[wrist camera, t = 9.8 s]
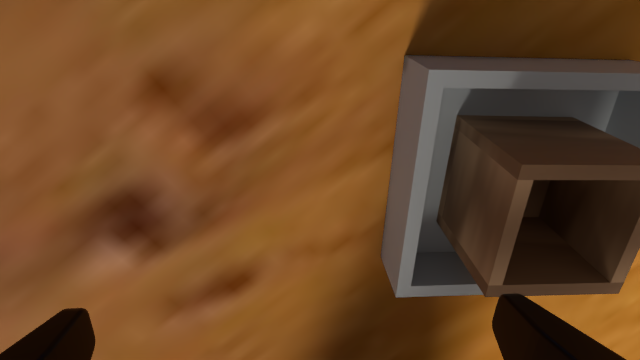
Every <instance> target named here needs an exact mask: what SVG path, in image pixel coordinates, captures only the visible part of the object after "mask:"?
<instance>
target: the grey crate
mask: <svg viewBox="0 0 640 360" xmlns="http://www.w3.org/2000/svg"><path fill="white" fill-rule="evenodd" d="M457 115H481V116H536V117H574V118H576V119H578V120H580V121H582V122H584V123H586V124H589V125H591V126H593V127H595V128H597V129H599V130H602V131H604V132H606V133H608V134H610V135H612V136H614V137H617V138H619V139H621V140H623V141H625V142H627V143H629V144H632V145H634V146H636V147H638V148H640V62H638V61H633V60H601V59H556V58H511V57H466V56H421V55H405V58H404V66H403V74H402V83H401V91H400V99H399V108H398V116H397V124H396V133H395V141H394V149H393V158H392V166H391V175H390V183H389V191H388V200H387V208H386V216H385V225H384V233H383V241H382V250H381V258H382V261H383V264H384V267H385V269H386V272H387V275H388V278H389V280H390V283H391V286H392V289H393V291H394V294H395V297H426V296H456V295H484V294H483V293H482V291H481V290H480V288H479V287H478V285H477V284H476V282H475V280H474V279H473V277H472V276H471V274H470V273H469V271H468V270H467V268H466V267H465V265H464V263H463V262H462V260H461V259H460V257H459V256H458V254H457V253H456V251H455V250H454V248H453V246H452V245H451V243H450V242H449V240H448V239H447V237H446V236H445V234H444V233H443V231H442V229H441V228H440V226H439V225H438V223H437V222H436V220H437V215H438V210H439V205H440V199H441V194H442V189H443V184H444V179H445V174H446V168H447V163H448V158H449V153H450V148H451V143H452V137H453V132H454V127H455V122H456V117H457Z"/></svg>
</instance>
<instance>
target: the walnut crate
mask: <svg viewBox="0 0 640 360" xmlns="http://www.w3.org/2000/svg"><path fill="white" fill-rule="evenodd" d="M436 222H437V223H438V225H439V226H440V228H441V229H442V231H443V233H444V234H445V236H446V237H447V239H448V240H449V242H450V243H451V245H452V246H453V248H454V250H455V251H456V253H457V254H458V256H459V257H460V259H461V260H462V262H463V263H464V265H465V267H466V268H467V270H468V271H469V273H470V274H471V276H472V277H473V279H474V280H475V282H476V284H477V285H478V287H479V288H480V290H481V291H482V293H483V294H484V296H485V297H500V296H501V295H502V294H511V293H518V294H521V295H523V296H541V295H579V294H617V293H619V292H620V289H621V287H622V285H623V283H624V281H625V278H626V276H627V274H628V272H629V270H630V268H631V265H632V263H633V261H634V259H635V257H636V254H637V252H638V250H639V248H640V148H638V147H636V146H634V145H632V144H629V143H627V142H625V141H623V140H621V139H619V138H617V137H614V136H612V135H610V134H608V133H606V132H604V131H602V130H599V129H597V128H595V127H593V126H591V125H589V124H586V123H584V122H582V121H580V120H578V119H576V118H574V117H536V116H481V115H457V117H456V122H455V127H454V132H453V137H452V143H451V148H450V153H449V158H448V163H447V168H446V174H445V179H444V184H443V189H442V194H441V199H440V205H439V210H438V215H437V220H436Z"/></svg>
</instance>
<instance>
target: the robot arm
mask: <svg viewBox="0 0 640 360" xmlns="http://www.w3.org/2000/svg"><path fill="white" fill-rule="evenodd" d="M492 328H493V332H494V335H495V337H496V340H497V343H498V345H499V348H500V351H501V353H502V356H503V359H504V360H626V359H624V358H623V357H621V356H620V355H618V354H616V353H615V352H613V351H612V350H610V349H608V348H607V347H605V346H604V345H602V344H600V343H599V342H597V341H595V340H594V339H592V338H591V337H589V336H587V335H586V334H584V333H583V332H581V331H579V330H578V329H576V328H575V327H573V326H571V325H570V324H568V323H567V322H565V321H563V320H562V319H560V318H558V317H557V316H555V315H554V314H552V313H550V312H549V311H547V310H546V309H544V308H542V307H541V306H539V305H538V304H536V303H534V302H533V301H531V300H530V299H528V298H526V297H525V296H523V295H521V294H518V293H511V294H502V295H501V296H500V297H499V299H498V303H497V306H496V310H495V313H494V317H493V321H492ZM94 347H95V335H94V331H93V328H92V324H91V320H90V317H89V314H88V311H87V310H86V309H84V308H71V309H64V310H62V311H60V312H59V313H57V314H56V315H55V316H53V317H52V318H50V319H49V320H47V321H46V322H45V323H43V324H42V325H40V326H39V327H38V328H36V329H35V330H33V331H32V332H30V333H29V334H28V335H26V336H25V337H23V338H22V339H21V340H19V341H18V342H16V343H15V344H13V345H12V346H11V347H9V348H8V349H6V350H5V351H4V352H2V353H1V354H0V360H91V357H92V354H93V351H94Z"/></svg>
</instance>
